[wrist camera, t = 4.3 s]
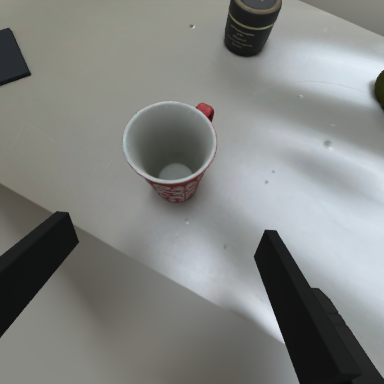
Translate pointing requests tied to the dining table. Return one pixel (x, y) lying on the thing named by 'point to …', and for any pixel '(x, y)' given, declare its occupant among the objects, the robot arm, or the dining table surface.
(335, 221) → the dining table surface
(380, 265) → the dining table surface
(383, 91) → the fruit
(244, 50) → the jar
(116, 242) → the dining table surface
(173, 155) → the mug
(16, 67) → the mat
